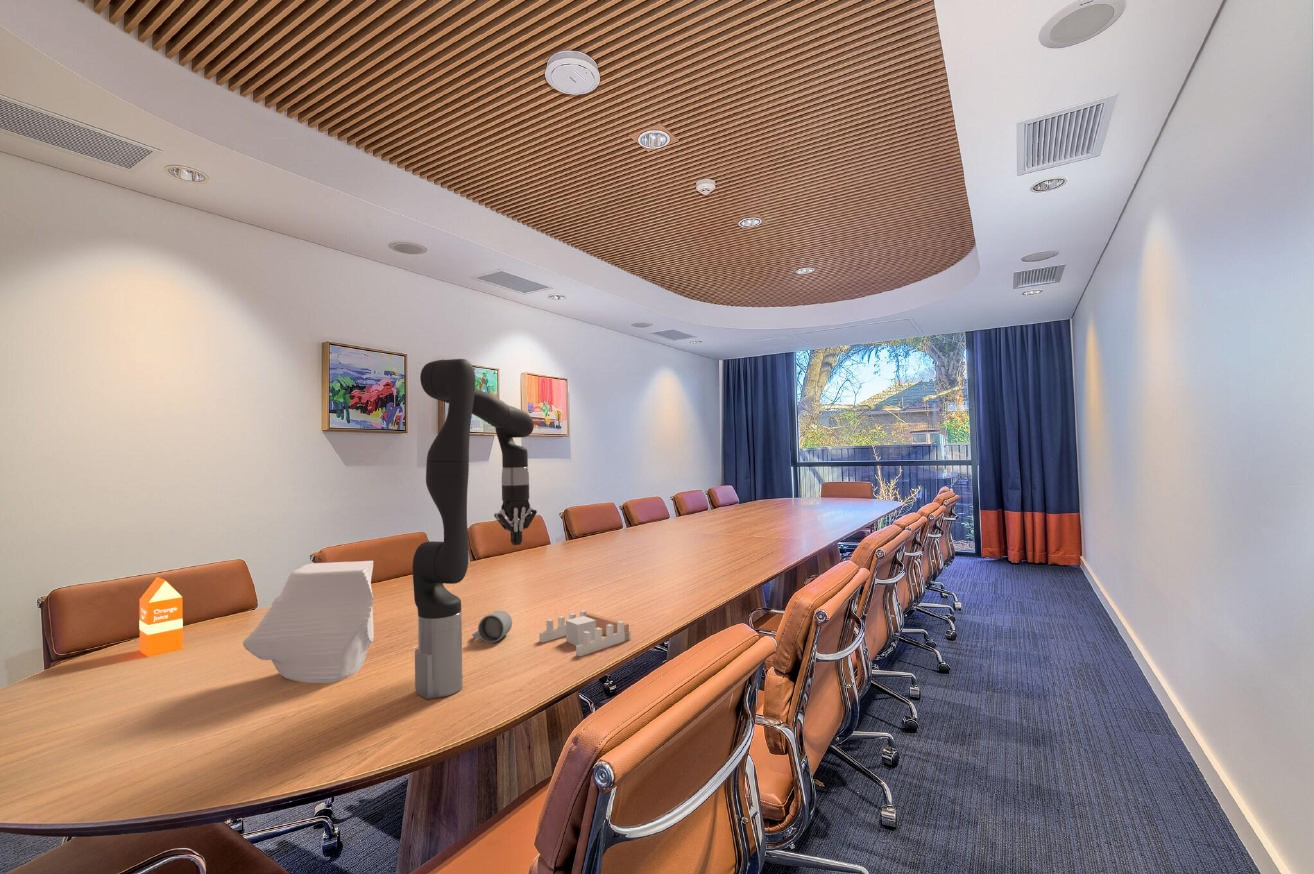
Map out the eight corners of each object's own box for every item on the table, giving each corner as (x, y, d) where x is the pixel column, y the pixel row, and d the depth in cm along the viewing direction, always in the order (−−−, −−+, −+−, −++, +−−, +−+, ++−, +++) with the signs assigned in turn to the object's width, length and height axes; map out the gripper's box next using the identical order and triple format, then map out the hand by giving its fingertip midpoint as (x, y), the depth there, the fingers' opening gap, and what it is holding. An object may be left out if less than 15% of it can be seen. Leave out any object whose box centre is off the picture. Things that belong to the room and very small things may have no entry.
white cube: (596, 642, 163) (595, 620, 163) (578, 647, 159) (577, 624, 159) (584, 636, 168) (584, 615, 168) (566, 641, 164) (565, 620, 164)
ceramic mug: (514, 633, 171) (513, 607, 171) (504, 643, 163) (503, 615, 163) (479, 634, 172) (478, 608, 173) (467, 643, 164) (466, 615, 164)
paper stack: (358, 684, 136) (356, 573, 137) (239, 688, 135) (238, 577, 136) (395, 652, 157) (393, 556, 158) (292, 656, 156) (291, 559, 157)
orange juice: (147, 657, 158) (147, 583, 159) (139, 651, 163) (138, 579, 164) (183, 648, 164) (183, 577, 165) (174, 643, 170) (173, 573, 170)
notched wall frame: (580, 656, 151) (579, 635, 151) (539, 641, 164) (539, 622, 164) (630, 639, 164) (630, 619, 164) (589, 626, 177) (589, 608, 177)
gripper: (501, 485, 158) (502, 549, 158) (542, 482, 167) (543, 543, 167) (487, 484, 163) (488, 546, 163) (528, 481, 173) (529, 540, 172)
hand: (516, 544), depth 165 cm, fingers closed
